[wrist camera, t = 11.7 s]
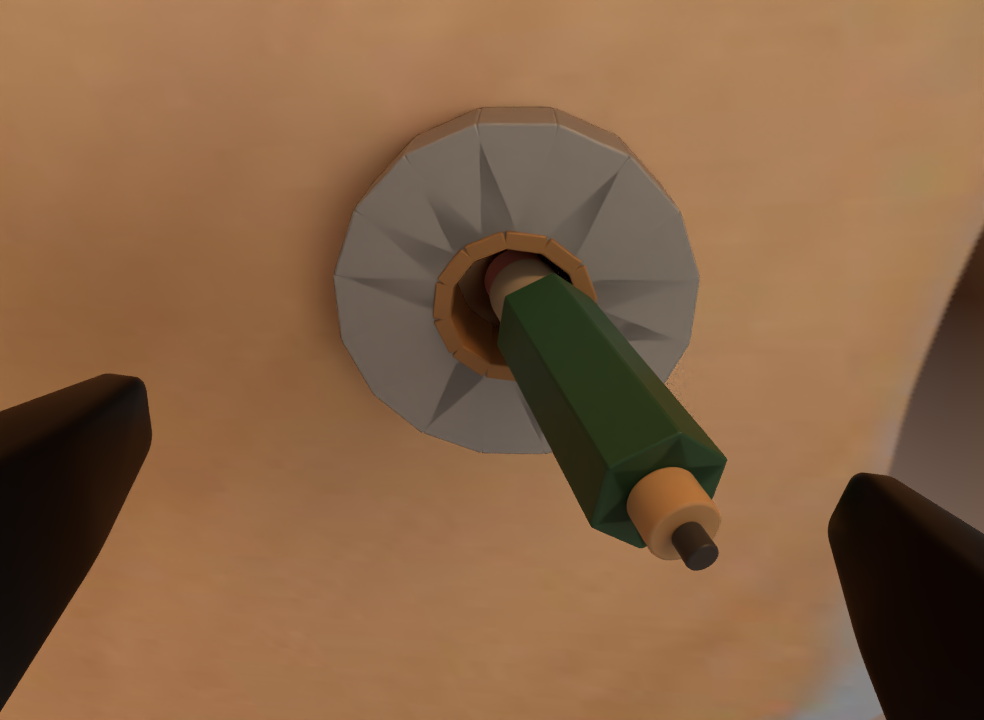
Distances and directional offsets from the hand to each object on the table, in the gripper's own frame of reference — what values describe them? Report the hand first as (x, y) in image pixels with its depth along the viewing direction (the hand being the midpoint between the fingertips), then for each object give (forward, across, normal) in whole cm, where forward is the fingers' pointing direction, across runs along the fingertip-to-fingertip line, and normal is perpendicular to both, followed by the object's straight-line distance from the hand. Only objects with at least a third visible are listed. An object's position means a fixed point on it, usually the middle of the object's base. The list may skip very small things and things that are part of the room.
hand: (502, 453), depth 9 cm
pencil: (+12, -1, +3) cm, 13 cm away
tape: (+13, -1, +3) cm, 13 cm away
